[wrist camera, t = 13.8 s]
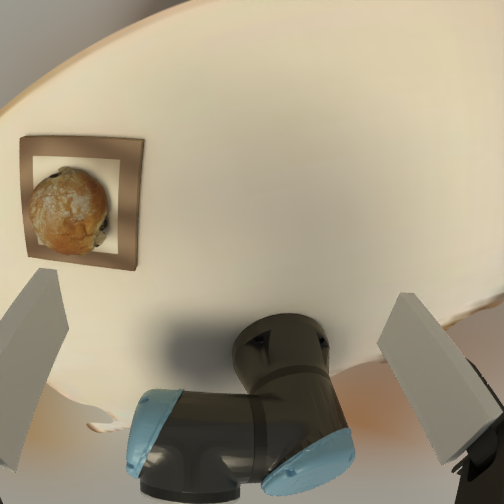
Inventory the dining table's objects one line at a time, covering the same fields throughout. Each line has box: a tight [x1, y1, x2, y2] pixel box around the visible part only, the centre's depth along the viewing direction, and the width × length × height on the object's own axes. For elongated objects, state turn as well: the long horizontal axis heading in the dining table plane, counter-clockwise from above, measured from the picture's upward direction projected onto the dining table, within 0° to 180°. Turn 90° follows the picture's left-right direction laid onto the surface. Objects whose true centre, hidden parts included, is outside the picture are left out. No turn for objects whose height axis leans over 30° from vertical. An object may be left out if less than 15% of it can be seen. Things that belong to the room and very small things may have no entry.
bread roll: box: [29, 166, 109, 256], centre depth 31 cm, size 10×10×8 cm
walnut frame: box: [20, 136, 144, 271], centre depth 33 cm, size 16×16×2 cm
